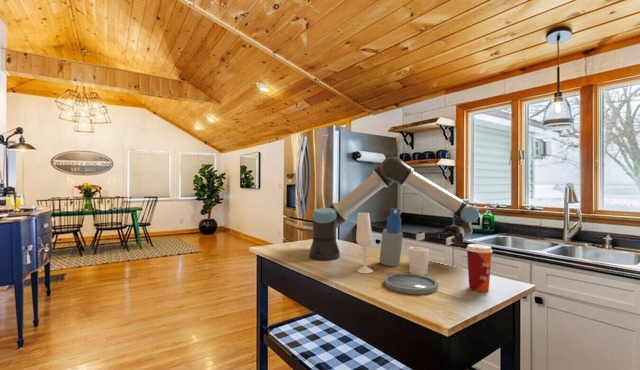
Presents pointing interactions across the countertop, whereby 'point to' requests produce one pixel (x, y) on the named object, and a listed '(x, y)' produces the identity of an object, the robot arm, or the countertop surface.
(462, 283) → the countertop surface
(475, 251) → the coffee cup
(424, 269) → the white cup
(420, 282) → the plate
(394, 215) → the spray bottle
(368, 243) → the champagne flute
